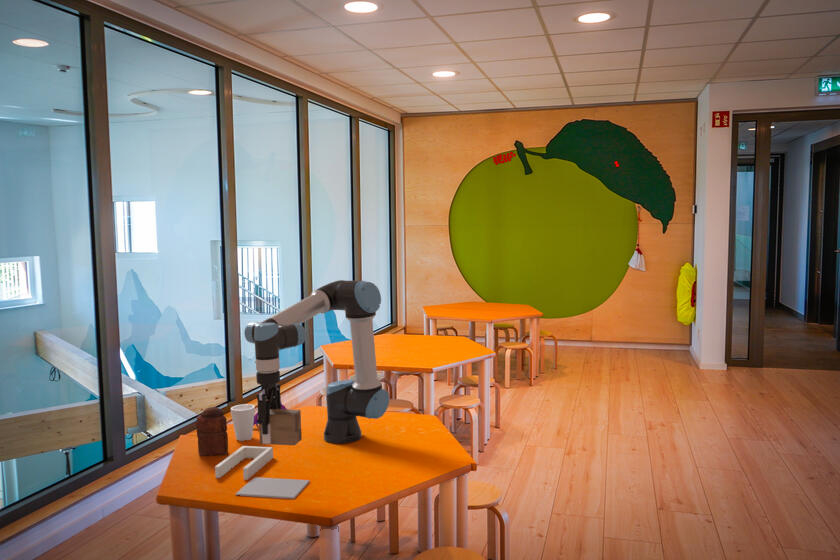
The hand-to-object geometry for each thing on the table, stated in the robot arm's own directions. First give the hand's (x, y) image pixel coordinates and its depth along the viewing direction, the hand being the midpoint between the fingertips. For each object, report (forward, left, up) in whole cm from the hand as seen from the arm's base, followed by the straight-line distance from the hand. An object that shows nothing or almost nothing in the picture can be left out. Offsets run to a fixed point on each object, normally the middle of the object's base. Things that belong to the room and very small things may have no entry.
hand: (271, 439), depth 224 cm
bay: (+18, -16, -17) cm, 29 cm away
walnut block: (-3, 0, 0) cm, 3 cm away
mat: (0, 0, -17) cm, 17 cm away
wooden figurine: (+37, -29, -17) cm, 50 cm away
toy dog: (+30, -62, -17) cm, 71 cm away
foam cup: (+33, -47, -17) cm, 60 cm away
